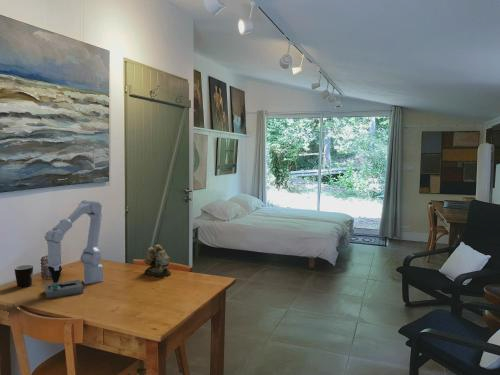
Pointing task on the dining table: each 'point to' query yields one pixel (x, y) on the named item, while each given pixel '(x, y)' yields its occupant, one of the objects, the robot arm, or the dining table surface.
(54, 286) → the peg
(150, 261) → the grey lumpy cluster
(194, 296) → the dining table surface
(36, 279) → the dining table surface
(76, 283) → the keyhole plate
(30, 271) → the coffee mug
